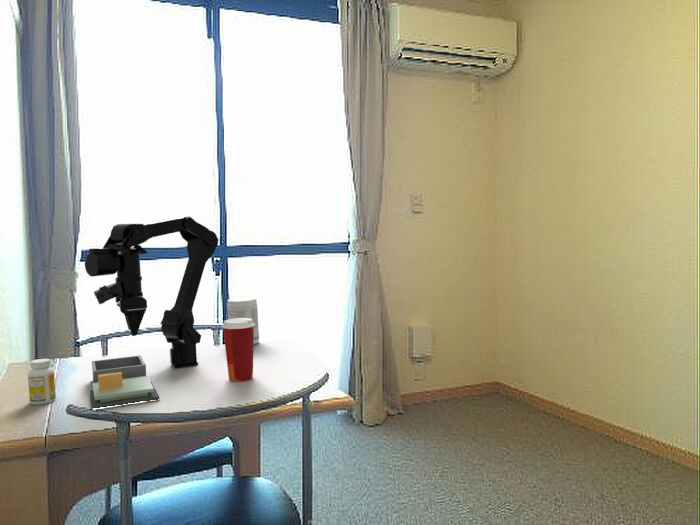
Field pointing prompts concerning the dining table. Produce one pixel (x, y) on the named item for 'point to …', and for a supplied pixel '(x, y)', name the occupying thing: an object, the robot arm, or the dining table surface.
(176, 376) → the dining table surface
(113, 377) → the lid
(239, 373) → the coffee cup
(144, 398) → the mat
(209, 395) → the dining table surface
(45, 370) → the supplement bottle
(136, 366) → the tub
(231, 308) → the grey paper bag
